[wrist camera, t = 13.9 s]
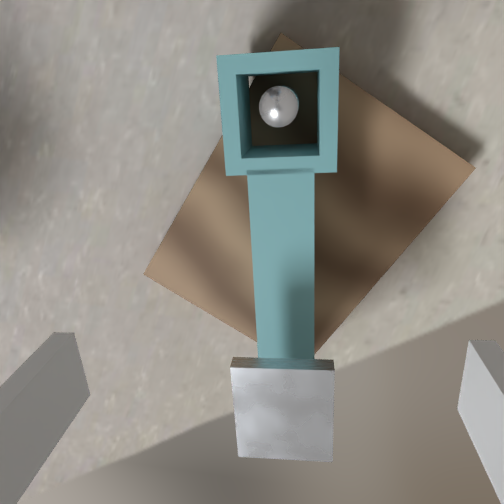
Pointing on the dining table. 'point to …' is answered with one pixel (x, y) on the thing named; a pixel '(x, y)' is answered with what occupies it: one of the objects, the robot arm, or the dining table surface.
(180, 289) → the board
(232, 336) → the dining table surface
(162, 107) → the dining table surface
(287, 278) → the link
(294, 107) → the cylinder
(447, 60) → the dining table surface
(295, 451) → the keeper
